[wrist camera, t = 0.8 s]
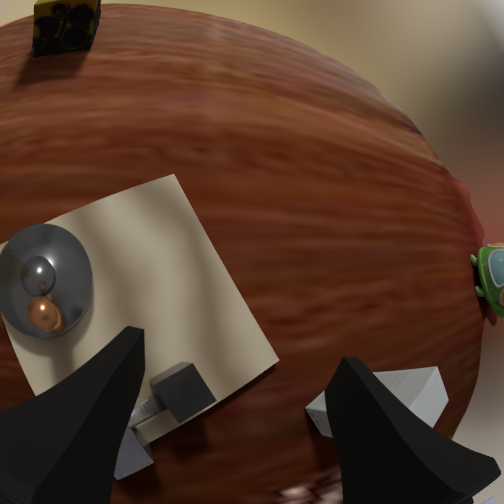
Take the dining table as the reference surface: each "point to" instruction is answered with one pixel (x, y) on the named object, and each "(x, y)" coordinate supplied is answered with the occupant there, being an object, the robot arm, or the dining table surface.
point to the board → (152, 299)
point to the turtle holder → (491, 275)
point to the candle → (64, 25)
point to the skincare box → (398, 396)
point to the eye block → (132, 453)
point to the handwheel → (44, 281)
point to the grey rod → (174, 395)
